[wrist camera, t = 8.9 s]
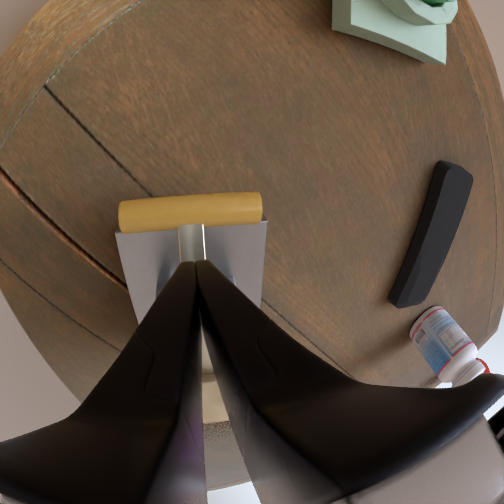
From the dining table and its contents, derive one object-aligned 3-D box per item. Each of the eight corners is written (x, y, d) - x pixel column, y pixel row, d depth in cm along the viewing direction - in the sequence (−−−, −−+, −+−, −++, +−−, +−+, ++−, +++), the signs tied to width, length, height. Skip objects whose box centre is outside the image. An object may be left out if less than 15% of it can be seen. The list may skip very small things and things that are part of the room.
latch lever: (126, 201, 12) (113, 200, 10) (251, 192, 13) (265, 189, 11) (159, 399, 14) (157, 426, 12) (260, 388, 15) (271, 413, 13)
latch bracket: (118, 222, 16) (75, 352, 8) (262, 211, 18) (331, 327, 10) (151, 349, 22) (154, 455, 14) (253, 339, 24) (285, 439, 16)
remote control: (432, 156, 18) (385, 303, 26) (448, 162, 17) (395, 314, 24) (462, 166, 20) (416, 297, 27) (475, 172, 18) (425, 307, 25)
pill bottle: (418, 339, 33) (458, 397, 24) (401, 334, 31) (446, 401, 21) (446, 308, 31) (492, 364, 22) (432, 298, 29) (486, 363, 19)
